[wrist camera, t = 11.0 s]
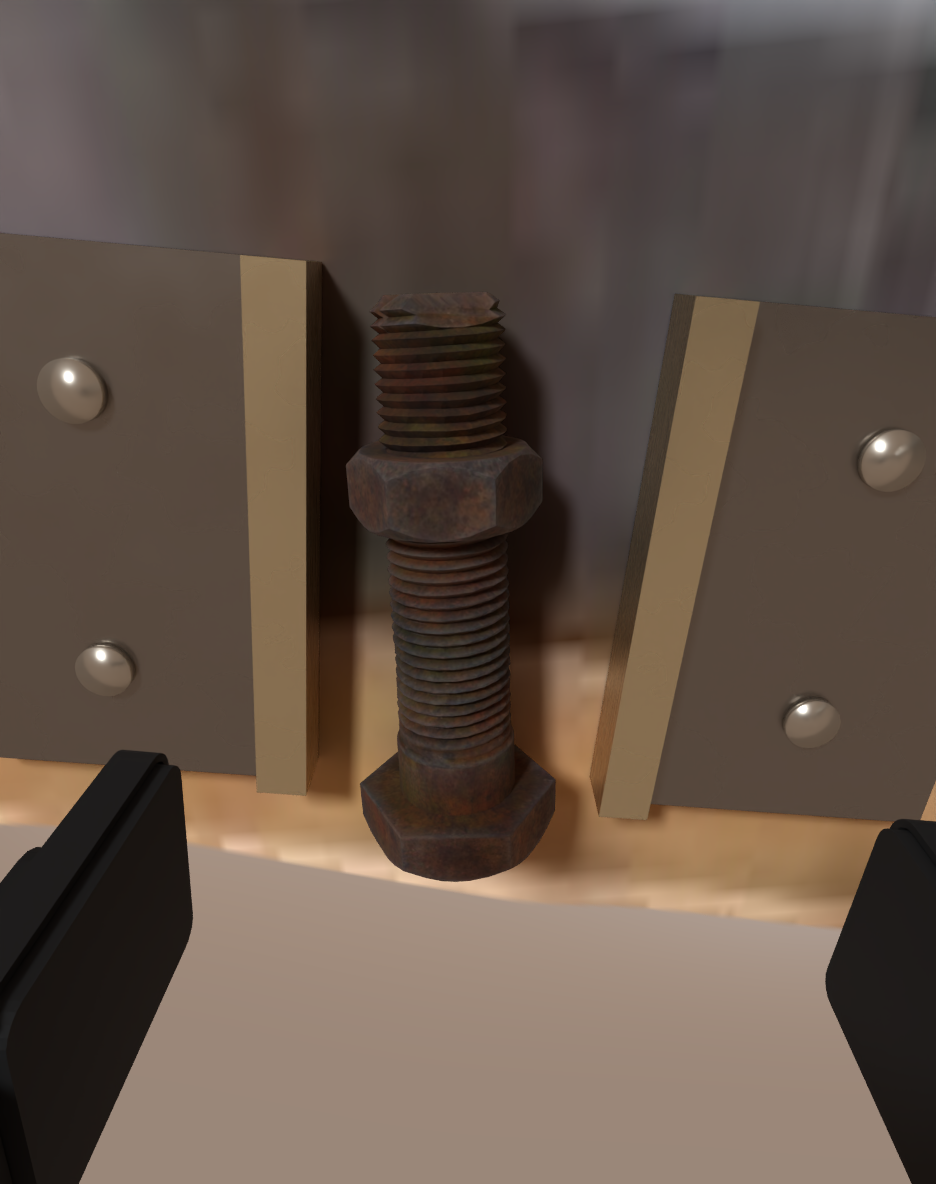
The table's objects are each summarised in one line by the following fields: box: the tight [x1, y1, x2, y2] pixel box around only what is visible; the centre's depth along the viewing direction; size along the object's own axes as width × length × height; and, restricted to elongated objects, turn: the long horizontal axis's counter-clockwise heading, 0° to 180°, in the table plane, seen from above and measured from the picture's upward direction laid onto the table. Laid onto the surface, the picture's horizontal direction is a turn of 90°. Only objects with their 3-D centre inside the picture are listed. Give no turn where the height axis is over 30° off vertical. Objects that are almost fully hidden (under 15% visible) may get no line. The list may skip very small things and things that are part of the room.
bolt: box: [346, 292, 556, 882], centre depth 20 cm, size 6×5×15 cm
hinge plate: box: [0, 233, 936, 821], centre depth 21 cm, size 30×15×2 cm, turn 85°
